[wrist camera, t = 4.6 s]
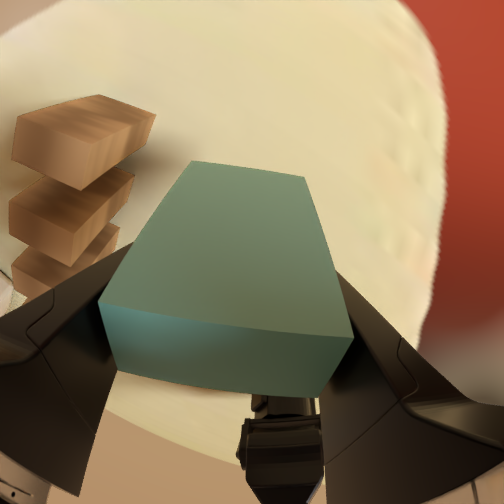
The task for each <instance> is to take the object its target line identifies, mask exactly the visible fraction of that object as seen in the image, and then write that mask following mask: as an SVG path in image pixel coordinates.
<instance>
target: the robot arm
mask: <svg viewBox="0 0 504 504" xmlns="http://www.w3.org/2000/svg"><path fill="white" fill-rule="evenodd" d="M133 243H134V242H132V243H130V244H129V245H127V246H125V247H123V248H121V249H119V250H117V251H116V252H114V253H112V254H110V255H108V256H107V257H105V258H103V259H101V260H99V261H98V262H96V263H94V264H92V265H91V266H89V267H87V268H85V269H84V270H82V271H80V272H78V273H77V274H75V275H73V276H71V277H70V278H68V279H66V280H65V281H63V282H61V283H60V284H58V285H56V286H55V287H54V288H51V289H50V290H48V291H46V292H45V293H43V294H41V295H40V296H38V297H36V298H34V299H33V300H31V301H29V302H28V303H26V304H24V305H22V306H20V307H18V308H16V309H15V310H13V311H11V312H9V313H7V314H5V315H3V316H1V317H0V504H47V501H48V497H49V493H50V489H51V486H54V487H56V488H58V489H60V490H62V491H65V492H67V493H69V494H71V495H74V496H77V497H79V494H80V491H81V487H82V483H83V479H84V475H85V471H86V467H87V463H88V460H89V456H90V453H91V450H92V446H93V443H94V439H95V434H96V432H97V429H98V426H99V423H100V419H101V416H102V413H103V410H104V407H105V404H106V401H107V398H108V395H109V392H110V390H111V387H112V384H113V381H114V378H115V375H116V373H117V370H118V369H117V366H116V363H115V360H114V357H113V354H112V350H111V347H110V344H109V341H108V337H107V334H106V330H105V327H104V323H103V320H102V316H101V312H100V308H99V304H98V301H99V299H100V297H101V295H102V294H103V292H104V290H105V288H106V287H107V285H108V283H109V282H110V280H111V278H112V277H113V275H114V273H115V272H116V270H117V268H118V267H119V265H120V263H121V262H122V260H123V259H124V257H125V255H126V254H127V252H128V251H129V249H130V248H131V246H132V245H133ZM335 271H336V270H335ZM336 274H337V277H338V281H339V284H340V288H341V291H342V294H343V298H344V302H345V305H346V309H347V312H348V316H349V320H350V323H351V327H352V331H353V335H354V339H353V341H352V343H351V344H350V346H349V348H348V349H347V351H346V353H345V355H344V356H343V358H342V360H341V361H340V363H339V365H338V366H337V368H336V370H335V371H334V373H333V374H332V376H331V378H330V379H329V381H328V382H327V384H326V386H325V387H324V389H323V390H322V392H321V393H320V395H319V396H318V397H319V407H320V414H316V408H315V398H305V397H285V396H271V395H259V394H252V400H251V410H252V411H253V412H255V419H250V418H245V422H244V424H243V425H242V431H241V439H240V442H239V445H238V448H237V451H236V457H237V458H238V459H239V460H240V463H241V467H242V469H243V470H246V481H247V483H248V485H249V486H250V488H251V489H252V491H253V492H254V494H255V495H256V497H257V498H258V500H259V501H260V503H261V504H310V502H311V500H312V499H313V497H314V496H315V494H316V492H317V491H318V489H319V487H320V486H321V483H322V480H323V477H324V466H325V482H326V497H327V504H504V406H500V405H492V404H485V403H479V402H477V401H474V400H472V399H469V398H468V397H466V396H465V395H463V394H462V393H461V392H460V391H459V390H458V389H457V388H456V387H454V386H453V385H452V384H451V383H450V382H449V381H448V380H447V379H446V378H445V377H444V376H442V375H441V374H440V373H439V372H438V371H437V370H436V369H435V368H434V367H433V366H432V365H430V364H429V363H428V362H427V361H426V360H425V359H424V358H423V357H422V356H421V355H420V354H419V353H418V352H417V351H416V350H415V349H414V348H413V347H412V346H411V345H410V344H409V343H408V342H407V341H406V340H405V339H404V338H403V337H402V336H401V335H400V334H399V333H398V332H397V331H396V329H395V328H394V327H393V326H392V325H391V324H390V323H389V322H388V321H387V320H386V319H385V318H384V317H383V316H382V315H381V314H380V313H379V312H378V311H377V310H376V309H375V308H374V307H373V306H372V305H371V304H370V303H369V302H368V301H367V300H366V299H365V298H364V297H363V296H362V295H361V294H360V293H359V292H358V291H357V290H356V289H355V288H354V287H353V286H352V285H351V284H350V283H349V282H347V281H346V280H345V279H344V278H343V277H342V276H341V275H340V274H339V273H338V272H337V271H336ZM401 337H402V338H401Z"/></svg>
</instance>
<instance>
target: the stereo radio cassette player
mask: <svg viewBox="0 0 504 504" xmlns="http://www.w3.org/2000/svg"><path fill="white" fill-rule="evenodd" d="M13 289H14V288H13V286H12V282H11V280H10V279H8V278H7V277H6V276H5V275H4V274H3V273H2V272H1V271H0V317H1V316H3V315H4V314H5V312H6V311H7V309H8V307H9V304H10V301H11V297H12V293H13Z"/></svg>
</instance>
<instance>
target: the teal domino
mask: <svg viewBox="0 0 504 504" xmlns="http://www.w3.org/2000/svg"><path fill="white" fill-rule="evenodd" d="M98 304H99V308H100V312H101V316H102V320H103V323H104V327H105V330H106V334H107V337H108V341H109V344H110V347H111V350H112V354H113V357H114V360H115V363H116V366H117V369H118V371H122V372H126V373H131V374H135V375H139V376H144V377H148V378H153V379H158V380H162V381H167V382H173V383H178V384H184V385H189V386H196V387H202V388H208V389H215V390H223V391H231V392H239V393H249V394H259V395H271V396H285V397H305V398H318V396H319V395H320V393H321V392H322V390H323V389H324V387H325V386H326V384H327V382H328V381H329V379H330V378H331V376H332V374H333V373H334V371H335V370H336V368H337V366H338V365H339V363H340V361H341V360H342V358H343V356H344V355H345V353H346V351H347V349H348V348H349V346H350V344H351V343H352V341H353V339H354V335H353V331H352V327H351V323H350V320H349V316H348V312H347V309H346V305H345V302H344V298H343V294H342V291H341V288H340V284H339V281H338V277H337V274H336V271H335V267H334V264H333V261H332V258H331V254H330V251H329V248H328V245H327V242H326V239H325V236H324V233H323V229H322V226H321V223H320V220H319V218H318V215H317V212H316V209H315V206H314V203H313V200H312V197H311V194H310V192H309V189H308V186H307V183H306V181H305V178H304V177H301V176H295V175H290V174H284V173H278V172H272V171H265V170H259V169H252V168H246V167H239V166H231V165H224V164H216V163H208V162H199V161H191V162H190V164H189V165H188V166H187V168H186V169H185V170H184V171H183V173H182V174H181V175H180V177H179V178H178V180H177V181H176V182H175V184H174V185H173V186H172V188H171V189H170V190H169V192H168V193H167V195H166V196H165V197H164V199H163V200H162V202H161V203H160V204H159V206H158V207H157V209H156V210H155V212H154V213H153V215H152V216H151V217H150V219H149V220H148V222H147V223H146V225H145V226H144V228H143V229H142V231H141V232H140V234H139V235H138V237H137V238H136V240H135V241H134V243H133V245H132V246H131V248H130V249H129V251H128V252H127V254H126V255H125V257H124V259H123V260H122V262H121V263H120V265H119V267H118V268H117V270H116V272H115V273H114V275H113V277H112V278H111V280H110V282H109V283H108V285H107V287H106V288H105V290H104V292H103V294H102V295H101V297H100V299H99V301H98Z"/></svg>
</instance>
